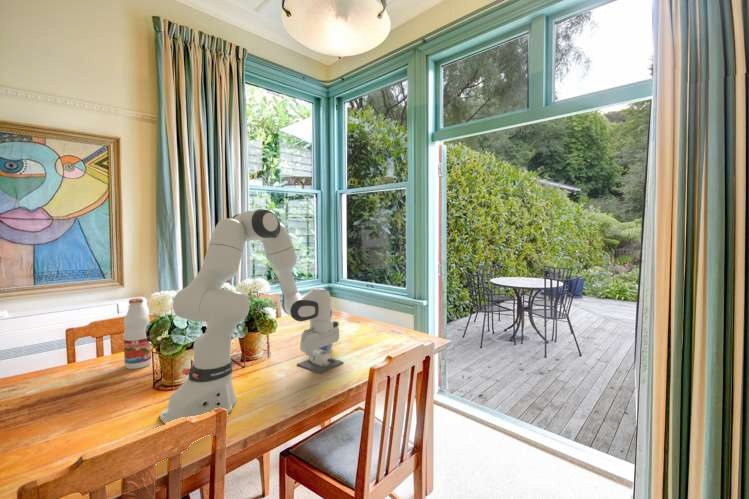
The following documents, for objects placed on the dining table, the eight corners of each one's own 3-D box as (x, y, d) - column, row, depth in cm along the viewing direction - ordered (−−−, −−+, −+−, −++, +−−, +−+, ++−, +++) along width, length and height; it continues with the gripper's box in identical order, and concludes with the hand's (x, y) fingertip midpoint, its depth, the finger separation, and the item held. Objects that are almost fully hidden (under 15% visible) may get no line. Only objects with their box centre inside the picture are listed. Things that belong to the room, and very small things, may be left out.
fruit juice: (154, 359, 157) (152, 296, 155) (147, 368, 148) (145, 301, 146) (129, 361, 154) (126, 297, 152) (121, 370, 145) (118, 302, 143)
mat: (320, 373, 145) (320, 372, 145) (296, 365, 153) (296, 363, 153) (343, 363, 156) (343, 361, 156) (320, 355, 165) (320, 354, 165)
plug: (337, 366, 152) (337, 354, 151) (330, 369, 148) (330, 357, 148) (311, 357, 161) (311, 346, 160) (304, 360, 158) (304, 349, 157)
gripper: (307, 332, 143) (307, 366, 144) (341, 321, 160) (341, 351, 161) (296, 329, 147) (296, 362, 148) (331, 319, 163) (331, 348, 164)
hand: (320, 356), depth 155 cm, fingers open, 8 cm apart
